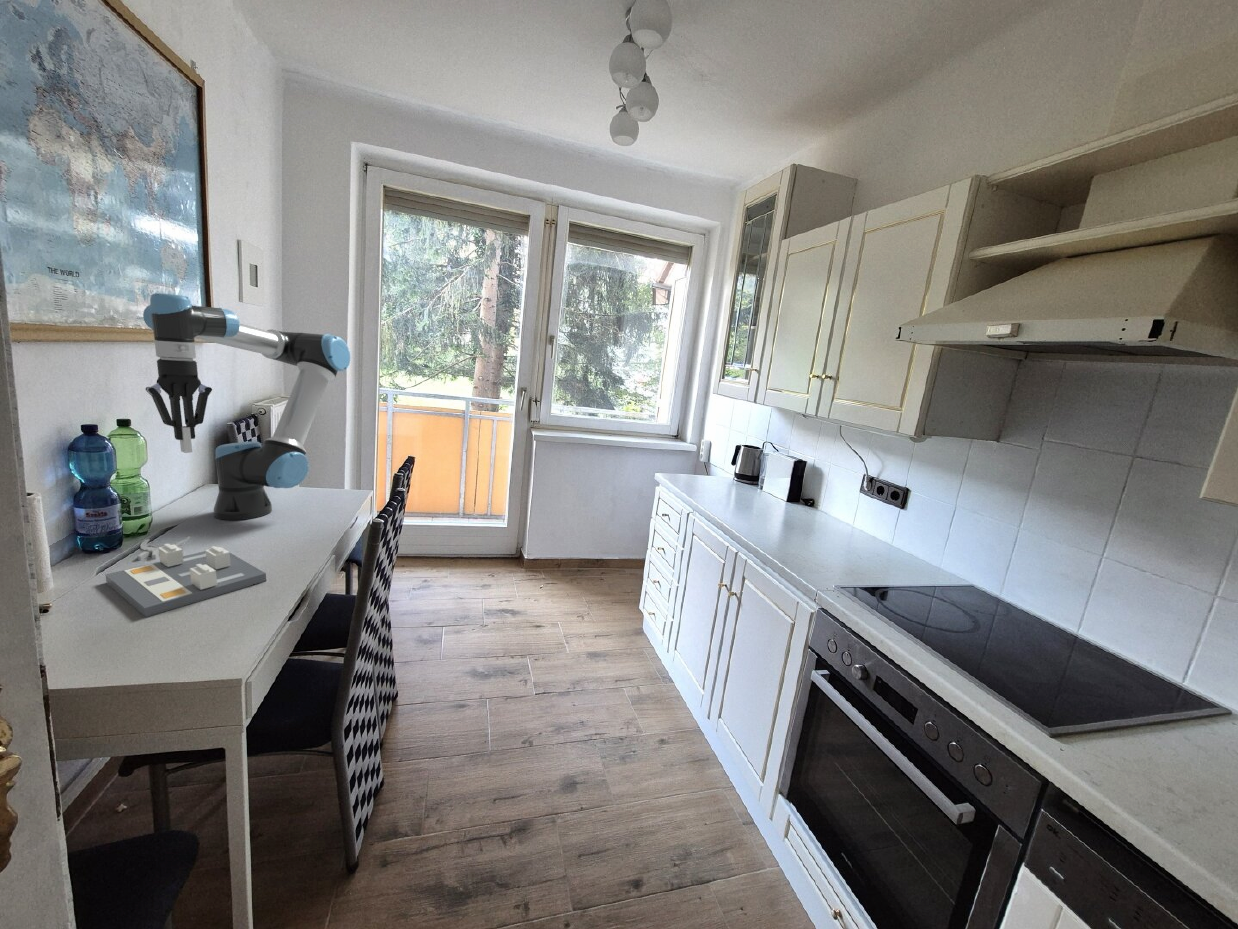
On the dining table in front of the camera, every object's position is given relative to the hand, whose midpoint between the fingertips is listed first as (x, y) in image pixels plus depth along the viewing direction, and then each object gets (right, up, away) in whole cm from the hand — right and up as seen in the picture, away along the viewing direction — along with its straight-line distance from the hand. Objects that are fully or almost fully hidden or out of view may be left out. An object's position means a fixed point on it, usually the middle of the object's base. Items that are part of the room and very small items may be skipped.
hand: (186, 451), depth 131 cm
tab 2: (+15, -28, -8) cm, 32 cm away
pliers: (-10, -26, +3) cm, 28 cm away
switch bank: (+11, -31, -13) cm, 35 cm away
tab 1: (+4, -27, -9) cm, 29 cm away
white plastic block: (+19, -30, -18) cm, 40 cm away
